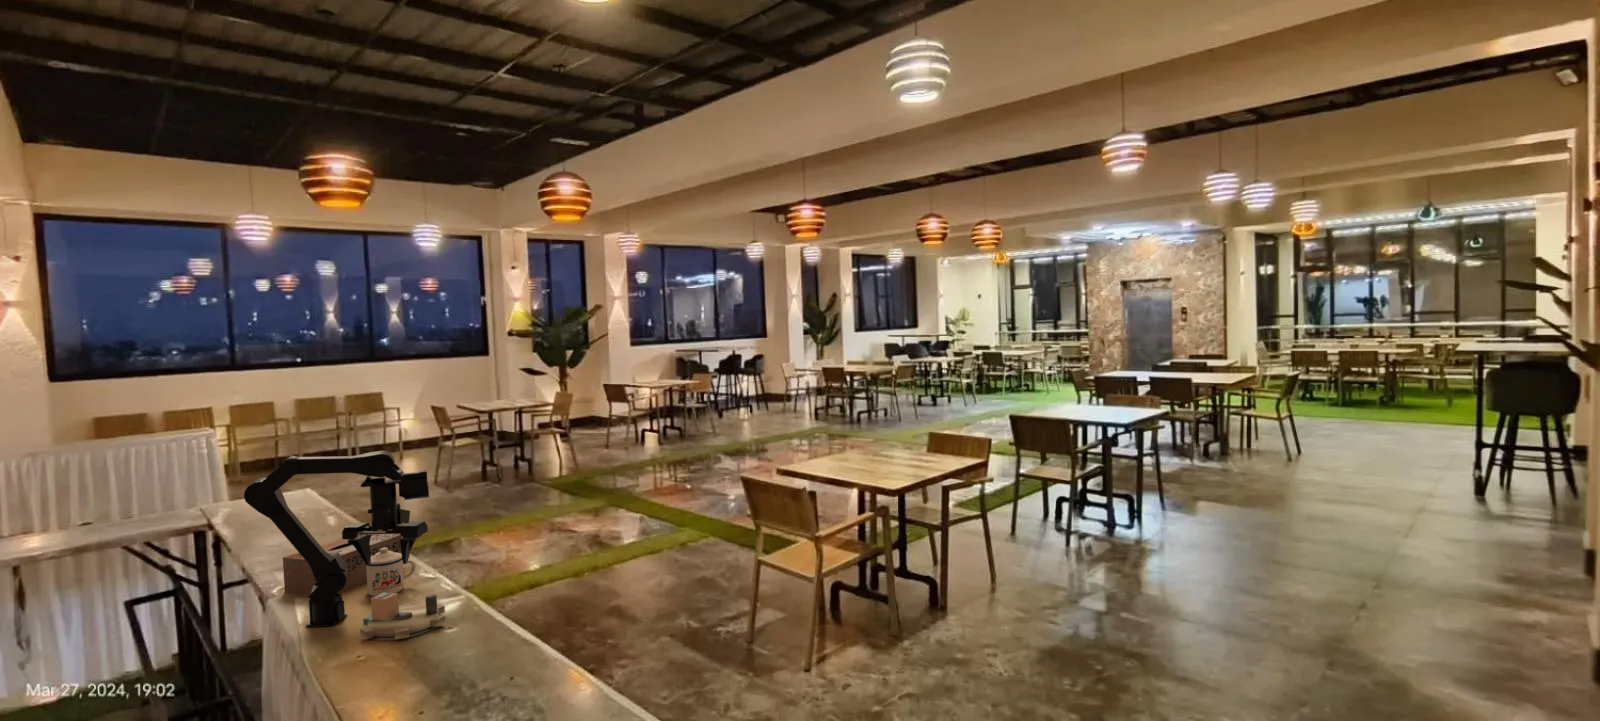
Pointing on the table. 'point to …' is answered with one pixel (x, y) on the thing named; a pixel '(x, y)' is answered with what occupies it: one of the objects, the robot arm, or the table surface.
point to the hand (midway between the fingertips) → (387, 564)
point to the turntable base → (404, 638)
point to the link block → (384, 606)
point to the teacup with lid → (386, 572)
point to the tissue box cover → (301, 575)
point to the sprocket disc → (406, 620)
